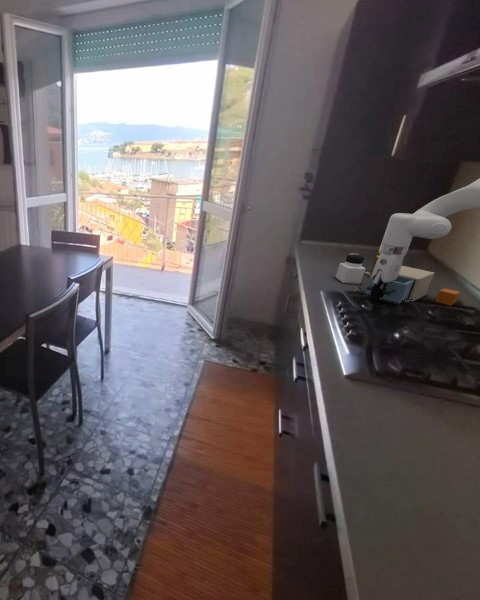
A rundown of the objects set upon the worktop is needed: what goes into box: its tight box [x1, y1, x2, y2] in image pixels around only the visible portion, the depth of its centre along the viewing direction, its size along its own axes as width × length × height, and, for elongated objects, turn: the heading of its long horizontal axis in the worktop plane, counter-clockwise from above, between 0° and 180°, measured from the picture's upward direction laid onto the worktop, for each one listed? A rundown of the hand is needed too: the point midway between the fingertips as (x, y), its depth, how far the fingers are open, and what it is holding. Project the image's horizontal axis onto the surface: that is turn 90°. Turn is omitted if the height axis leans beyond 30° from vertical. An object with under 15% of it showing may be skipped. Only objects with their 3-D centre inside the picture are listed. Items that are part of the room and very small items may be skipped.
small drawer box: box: [398, 265, 435, 303], centre depth 142 cm, size 15×13×10 cm
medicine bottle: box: [335, 253, 367, 285], centre depth 155 cm, size 7×7×12 cm
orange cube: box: [435, 288, 461, 306], centre depth 135 cm, size 5×5×5 cm
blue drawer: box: [364, 275, 416, 304], centre depth 136 cm, size 20×11×8 cm, turn 121°
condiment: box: [364, 251, 381, 277], centre depth 162 cm, size 7×8×12 cm
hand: (376, 297), depth 132 cm, fingers closed
